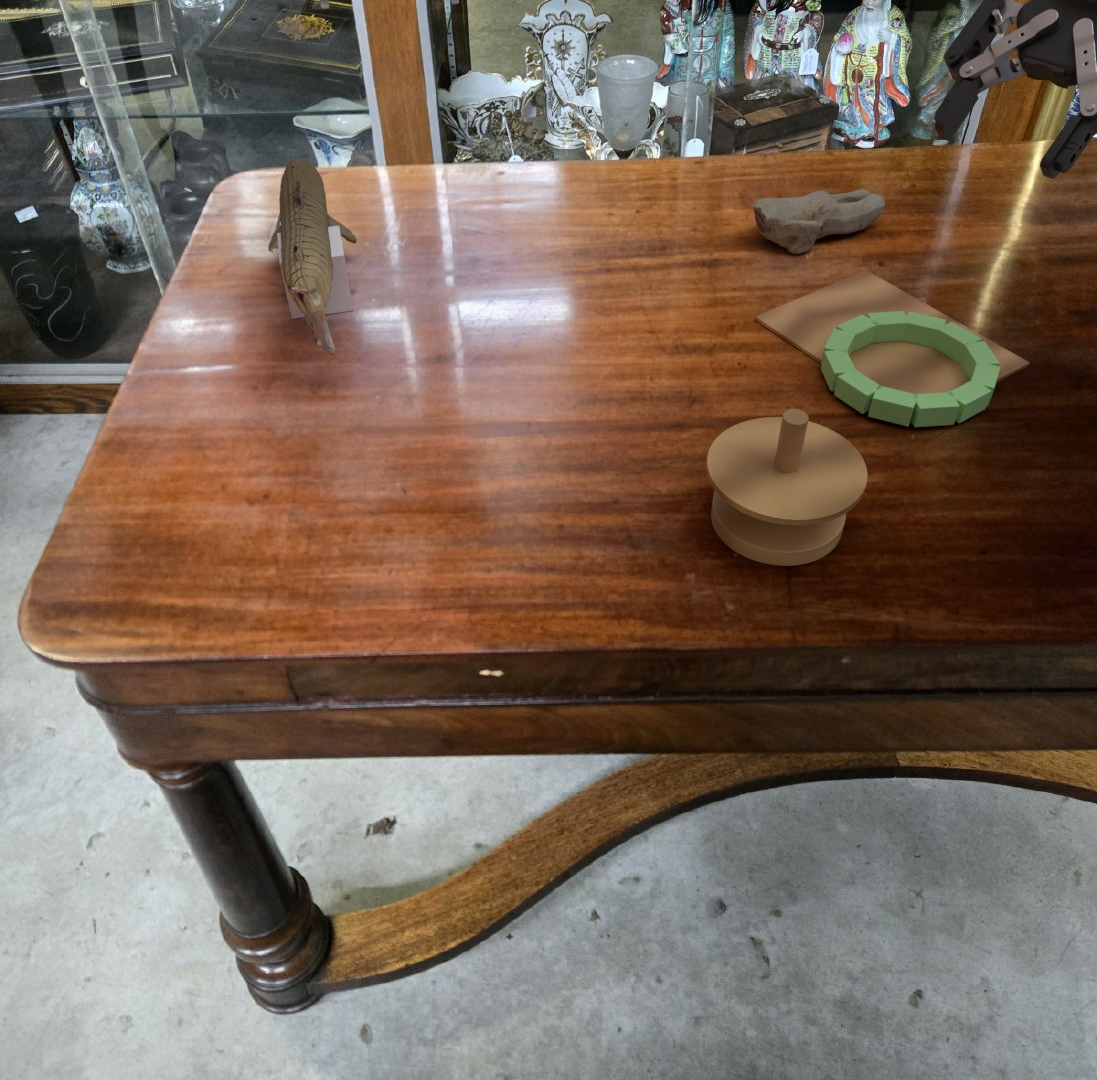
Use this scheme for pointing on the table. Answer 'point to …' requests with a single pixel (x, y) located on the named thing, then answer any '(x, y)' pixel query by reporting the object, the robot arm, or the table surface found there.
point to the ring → (899, 403)
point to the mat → (881, 361)
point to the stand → (783, 488)
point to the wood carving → (311, 251)
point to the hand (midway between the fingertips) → (992, 152)
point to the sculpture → (815, 217)
